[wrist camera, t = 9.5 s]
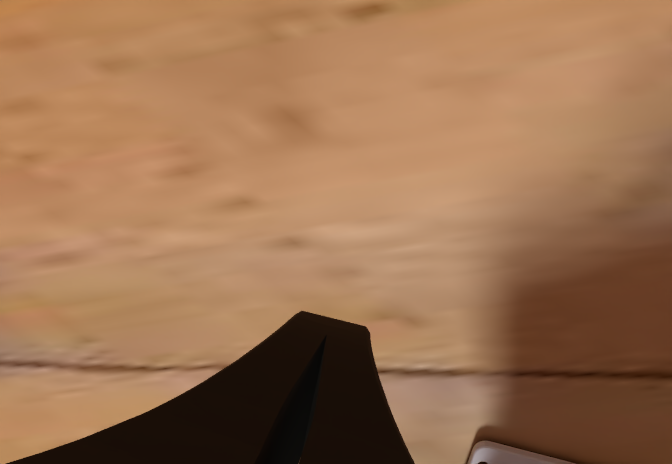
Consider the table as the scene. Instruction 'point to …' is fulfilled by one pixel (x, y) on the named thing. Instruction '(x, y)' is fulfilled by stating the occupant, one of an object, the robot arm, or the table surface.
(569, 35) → the table surface
